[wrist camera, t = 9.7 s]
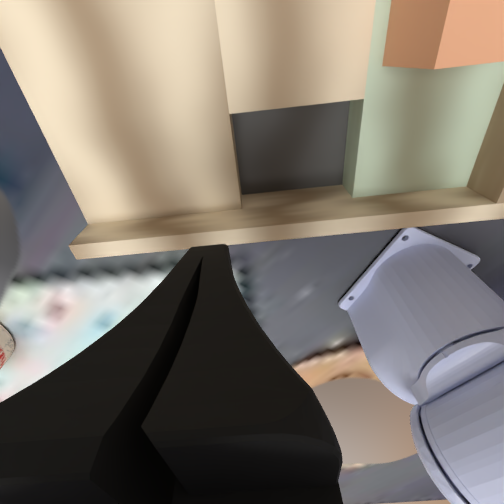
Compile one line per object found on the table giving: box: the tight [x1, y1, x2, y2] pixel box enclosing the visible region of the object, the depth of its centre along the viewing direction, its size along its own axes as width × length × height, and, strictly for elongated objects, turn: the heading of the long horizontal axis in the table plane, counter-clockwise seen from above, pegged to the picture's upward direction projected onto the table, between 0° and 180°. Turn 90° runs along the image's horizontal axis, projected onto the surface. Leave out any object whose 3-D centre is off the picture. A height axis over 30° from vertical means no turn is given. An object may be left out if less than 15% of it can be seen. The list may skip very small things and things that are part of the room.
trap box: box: [0, 0, 504, 259], centre depth 12 cm, size 25×20×5 cm
